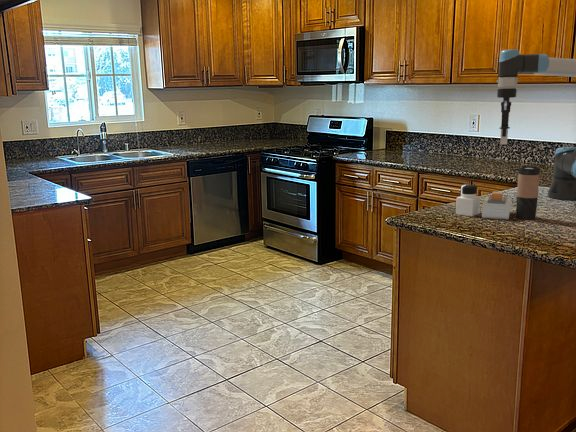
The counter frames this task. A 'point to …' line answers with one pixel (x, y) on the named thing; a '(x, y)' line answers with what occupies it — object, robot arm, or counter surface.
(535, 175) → the travel mug
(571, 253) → the counter surface
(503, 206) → the grey boxy piece
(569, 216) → the counter surface
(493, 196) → the toggle
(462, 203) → the medicine bottle
